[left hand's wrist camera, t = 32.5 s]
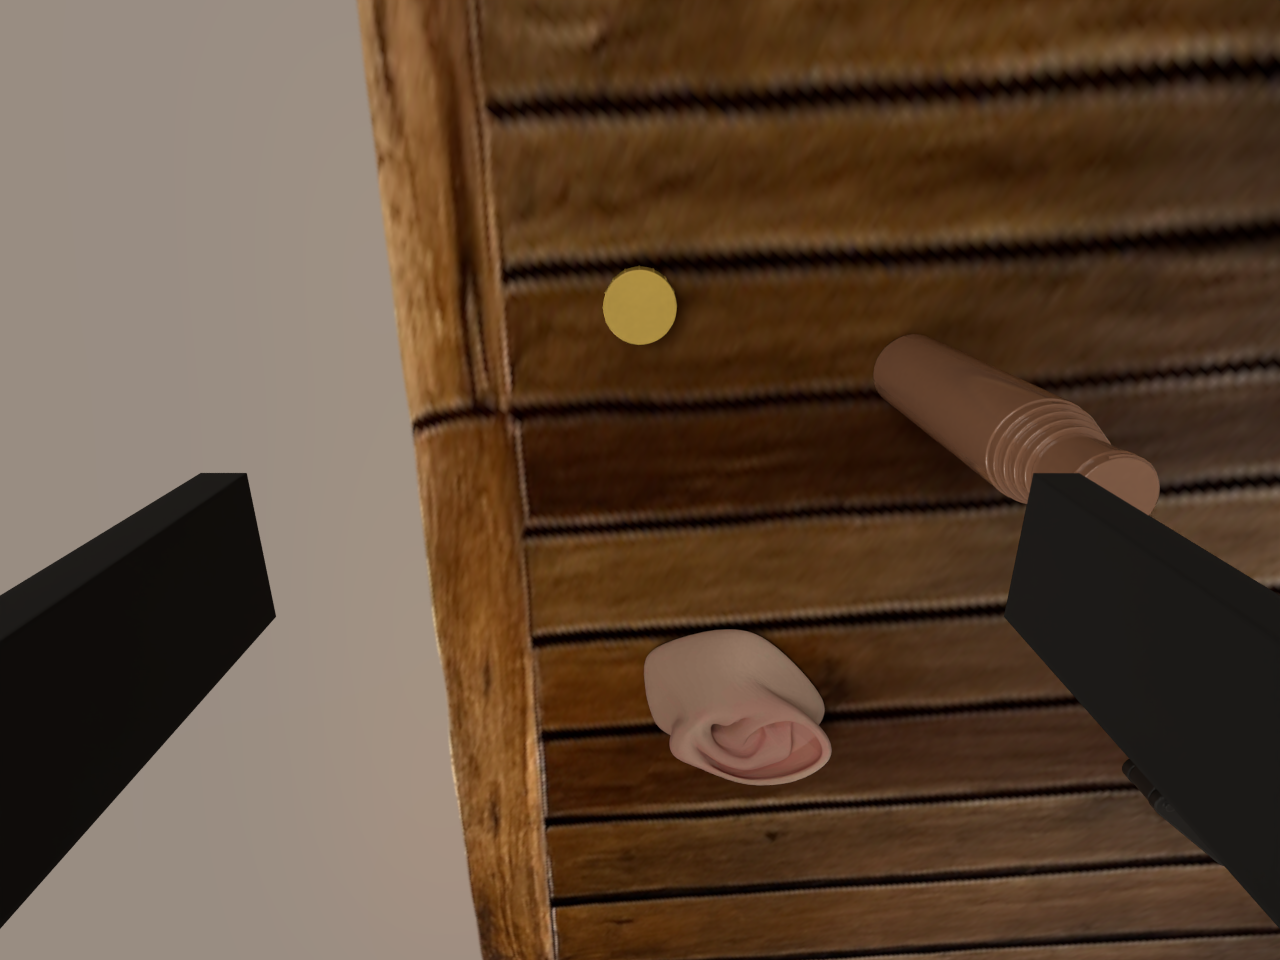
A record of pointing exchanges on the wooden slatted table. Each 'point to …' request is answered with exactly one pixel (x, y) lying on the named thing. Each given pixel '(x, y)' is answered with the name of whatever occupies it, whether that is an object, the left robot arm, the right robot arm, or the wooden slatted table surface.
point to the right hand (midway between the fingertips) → (1219, 633)
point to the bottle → (1005, 422)
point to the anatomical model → (736, 707)
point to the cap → (639, 305)
